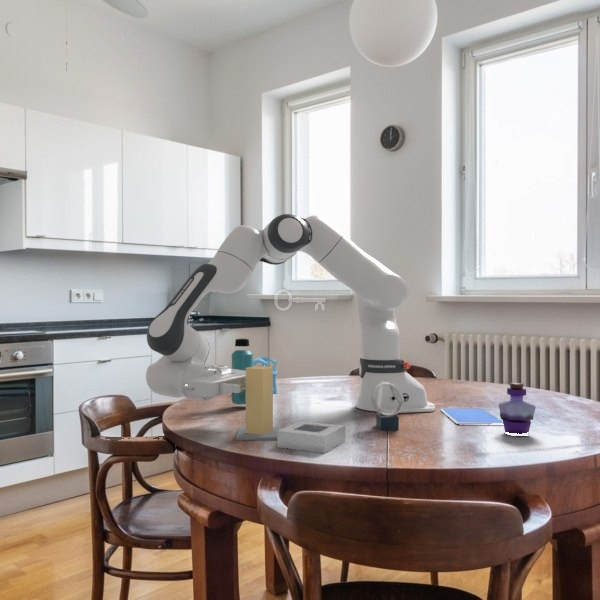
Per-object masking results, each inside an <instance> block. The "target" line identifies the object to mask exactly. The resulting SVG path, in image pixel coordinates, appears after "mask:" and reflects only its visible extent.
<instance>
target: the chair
mask: <svg viewBox="0 0 600 600" xmlns="http://www.w3.org/2000/svg"><path fill="white" fill-rule="evenodd" d="M269 362H271V363H273V364H274V365H273V366H272V367H273V394H278V388H277V375H279V371H277V370H276V369H277V368H276V366H277V364H278V361H276V360H275V359H273V358H271V357H266V356H265V357H263V356H258V357H256V358H253V366H257V365H256V364H261V366H265V367H269Z"/></svg>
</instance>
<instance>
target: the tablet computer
mask: <svg viewBox="0 0 600 600" xmlns="http://www.w3.org/2000/svg"><path fill="white" fill-rule="evenodd" d="M440 410H441V411H442V412H443V413H442V412H441V411H440V412H441V413H442V414H444V415H445V416H446V417H449V418H448V419H449V420H451V421H452V422H453V423H454V424H455V423H456V424H461V425H462V424H492V423H503V422H502V421H503V420H502V419H500V420H498V419H499V418H498V417H497V416H495V415H494V414H492V413H491V412H489V411H487V410H485V409H483V408H441V409H440ZM456 424H455V425H456Z"/></svg>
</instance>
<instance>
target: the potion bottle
mask: <svg viewBox="0 0 600 600" xmlns="http://www.w3.org/2000/svg"><path fill="white" fill-rule="evenodd" d="M524 385H525V384H524V383H521V382H510V383H509V387H506V393H507V395H509V397H510V398H509V400H506V401H505V400H504V401H502V402H501V401H500V402H498V409H499V417H500V420H502V421H503V424H504V426H503V428H504V433H505V432H509V433H517V434H518V433H519V434H522V433H527V432H530V428H531V424H532V421H534V416H535V411H536V405H535V404H534V403H530V402H527V401H524V398H523V397H524V396H527V388H525V387H524Z"/></svg>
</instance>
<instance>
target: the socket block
mask: <svg viewBox="0 0 600 600" xmlns="http://www.w3.org/2000/svg"><path fill="white" fill-rule="evenodd" d="M276 441H277V443H276V444H277V445H276V446H277V448H281V449H287V448H288V450H295V449H296V450H295V451H302V450H303V451H304V452H311V453H317V454H318V453H319V454H326V453H328V452H330V451H331V450H333V449H335V448H336V447H338V446H340V445H342V444H343V443H345V442H346V425H342V424H334V423H333V424H331V423H330V424H329V423H325V422H323V423H322V422H315V421H314V422H313V421H305V420H304V421H303V420H300V421H297V422H294V423H293V424H290V425H288V426H285V427H283V428H281V429H280V430H278V431H277V440H276Z"/></svg>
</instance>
